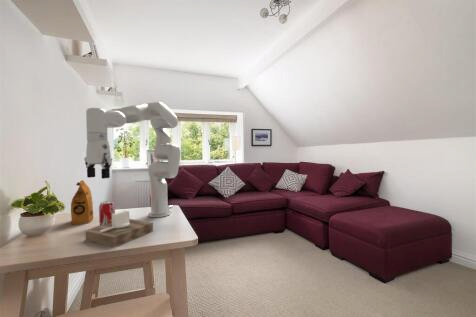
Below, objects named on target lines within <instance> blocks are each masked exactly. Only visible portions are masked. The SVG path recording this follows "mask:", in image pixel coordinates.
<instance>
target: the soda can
mask: <svg viewBox="0 0 476 317" xmlns="http://www.w3.org/2000/svg"><path fill="white" fill-rule="evenodd" d="M115 213H116V206H115V203H114V201H113V200H107V201H106V200H105V201H101V202H100V204H99V206H98V219H99V221H98V222H99V227H100V226H103V225H106V224H109V223H112V214H115Z"/></svg>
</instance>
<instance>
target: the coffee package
mask: <svg viewBox="0 0 476 317" xmlns="http://www.w3.org/2000/svg"><path fill="white" fill-rule="evenodd" d="M76 186H77V187H78V188H77V190H76V192H75V194H74V195H73V197H72V198H71V202H70V217H71V221H70V223H71V224H72V225H75V226H76V225H84V224H85V225H86V224H90V222H91V221H93V219H94V208H93V207H94V205H93V204H94V202H93V197H92V193H91V192H92V191H91V188H90V187H89V186H88V184H87V183H86V182H85V180H83V179H82V180H81V181H80V182H76Z"/></svg>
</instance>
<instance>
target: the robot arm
mask: <svg viewBox="0 0 476 317" xmlns="http://www.w3.org/2000/svg"><path fill="white" fill-rule="evenodd" d="M85 114H86V116H85V119H86V120H85V121H86V123H85V124H86V141H87V143H86V152H85V153H86V156H85V157H84V158H83V159H84V162H85V163H84V164H85V168H86V174H87V175H86V178H88V179H89V178H90V179H91V178H95V177H96V168H95V166H96V165H100V166H101V169H100V170H101V179H110V178H111V177H110V176H111V175H110V172H111V171H110V169H111V166H112V163H113V158H112V157H111V148H110V147H111V146H110V143H109V141H108V129H109V128H110V129H111V128H112V129H113V128H121V127H123V126H124V125H125V124H135V123H139V122H142V121H146V120H149V119H150V125H151V127H152V129H153V130H154V132H155V137H156V139H155V145H154V149H153V150H154V151H153V156H154V158H155V159H156V160H158V161H154V162H151V163H150V165H148V170H147V172H148V176H149V180H150V181H149V183H150V212H148V213H147V216H148V217H150V218H164V217H167V216H169V215H171V211H170V210H171V209H173V207H174V206H173V205H168V198H169V197H168V182H167V180H166V179H175V178H176V177H177V176H178V172H179V167H180V160H181V155H182V154H181V149H180V147H179V145H177V144H175V143H171V140H172V138H171V134H170V132H169V130H167V129H174V128H176V127H177V126H178V124H179V119H178V117H177V115H176V114H175V112H173V110H171V109H170V108H169V107H168V106H167V105H166V104H164V103H163V102H161V101H153V102H145V103H139V104H134V105H128V106H125V107H124V106H123V107H119V108H115V109H104V108H101V107H89V108H87V109H86V112H85Z"/></svg>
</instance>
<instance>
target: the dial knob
mask: <svg viewBox="0 0 476 317" xmlns="http://www.w3.org/2000/svg"><path fill="white" fill-rule="evenodd" d="M129 219H130V210H123V211H119V212H115V214H112V227H110V228H107V229H103V230H100V232H104V231H107V230H110V229H113V228H116V229H117V228H125V227H128V226H129V225H130V222H129Z"/></svg>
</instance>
